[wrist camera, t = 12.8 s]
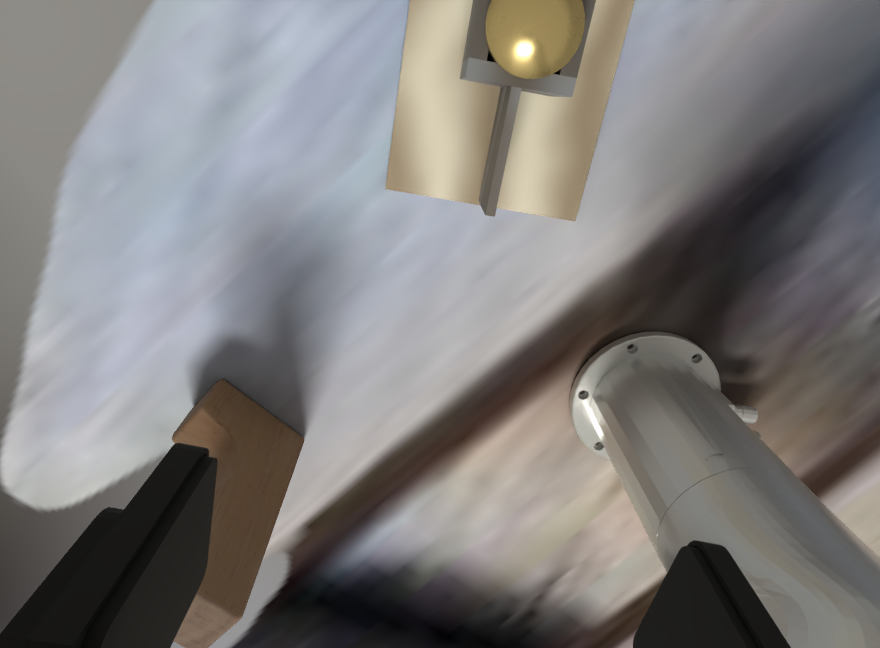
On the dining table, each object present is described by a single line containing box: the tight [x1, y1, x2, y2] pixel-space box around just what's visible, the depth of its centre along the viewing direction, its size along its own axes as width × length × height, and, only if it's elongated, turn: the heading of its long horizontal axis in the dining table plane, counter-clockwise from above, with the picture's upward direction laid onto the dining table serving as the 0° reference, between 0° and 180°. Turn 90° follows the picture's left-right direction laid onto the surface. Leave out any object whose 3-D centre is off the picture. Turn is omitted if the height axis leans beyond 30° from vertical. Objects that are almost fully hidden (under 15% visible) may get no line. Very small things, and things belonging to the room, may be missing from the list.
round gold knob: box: [485, 0, 585, 79], centre depth 32 cm, size 5×5×6 cm
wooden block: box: [172, 379, 304, 648], centre depth 39 cm, size 9×4×18 cm, turn 46°
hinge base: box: [385, 0, 635, 221], centre depth 33 cm, size 14×22×7 cm, turn 170°
